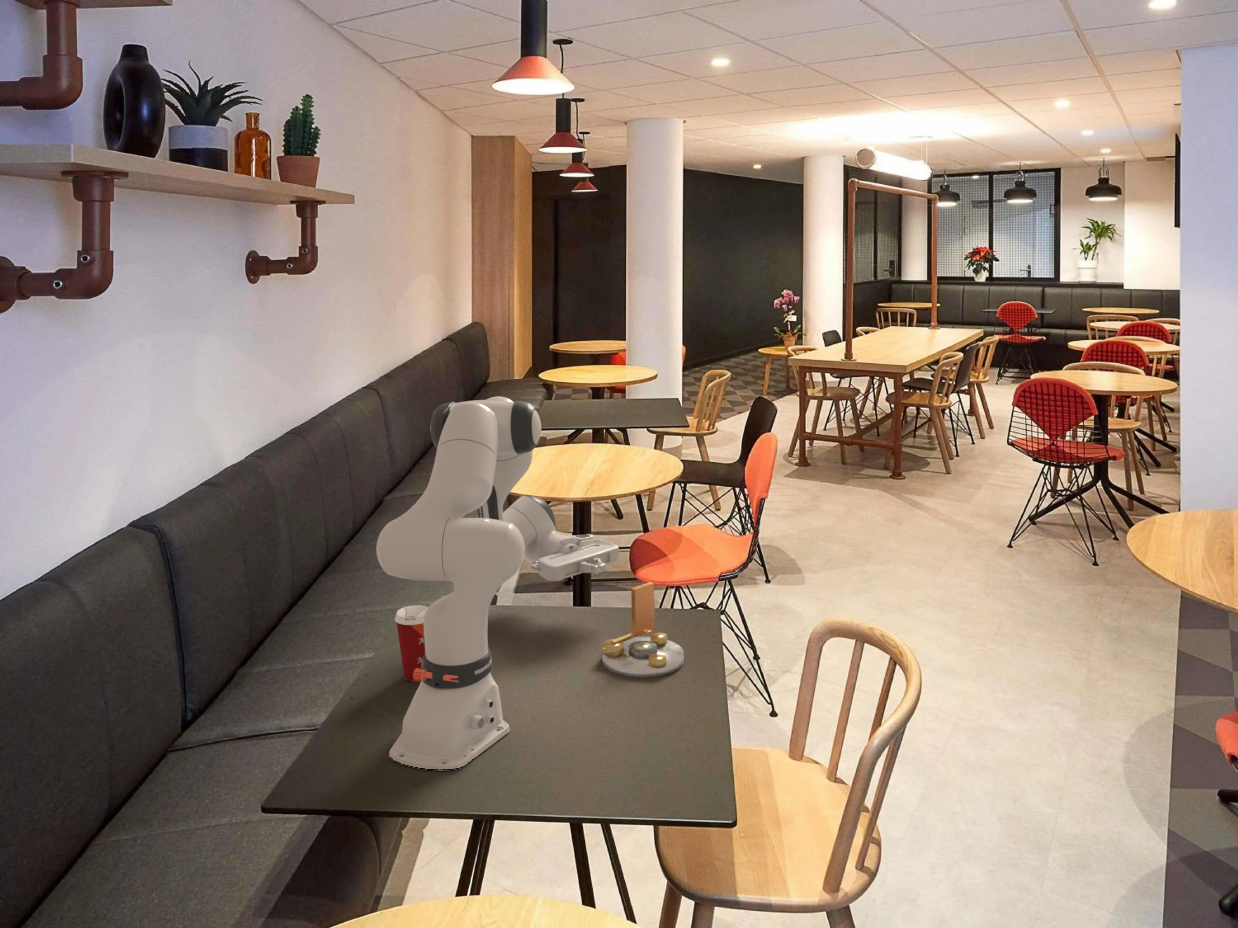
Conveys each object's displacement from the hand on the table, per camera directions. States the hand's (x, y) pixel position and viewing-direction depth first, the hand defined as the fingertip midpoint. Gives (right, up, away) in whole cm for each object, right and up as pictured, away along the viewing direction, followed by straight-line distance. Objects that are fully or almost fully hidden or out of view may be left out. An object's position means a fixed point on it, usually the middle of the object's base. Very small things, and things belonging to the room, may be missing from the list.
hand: (601, 569), depth 212 cm
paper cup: (-37, -20, -18) cm, 46 cm away
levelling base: (+9, -17, -13) cm, 23 cm away
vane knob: (+6, -15, -10) cm, 19 cm away
